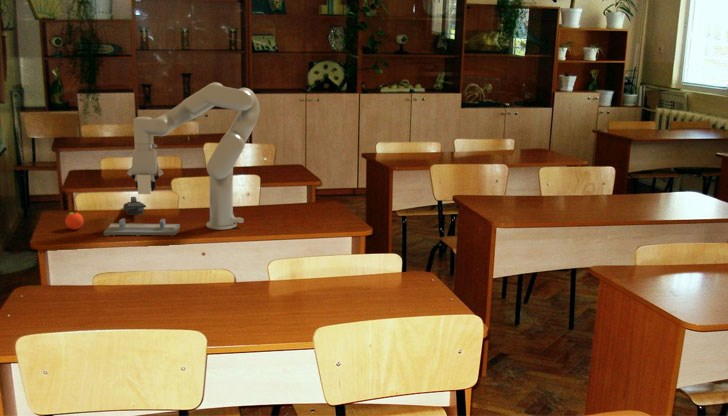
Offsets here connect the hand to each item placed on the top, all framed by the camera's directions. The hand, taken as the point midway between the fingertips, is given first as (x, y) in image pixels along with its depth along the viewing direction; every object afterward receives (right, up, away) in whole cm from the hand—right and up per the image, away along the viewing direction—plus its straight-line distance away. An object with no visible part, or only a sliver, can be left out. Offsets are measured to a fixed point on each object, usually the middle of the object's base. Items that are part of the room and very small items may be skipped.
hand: (145, 189), depth 312 cm
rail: (0, -16, -6) cm, 17 cm away
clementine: (-28, -16, -6) cm, 33 cm away
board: (0, -17, -6) cm, 18 cm away
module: (0, -1, 0) cm, 1 cm away
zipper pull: (-11, -10, +22) cm, 27 cm away
